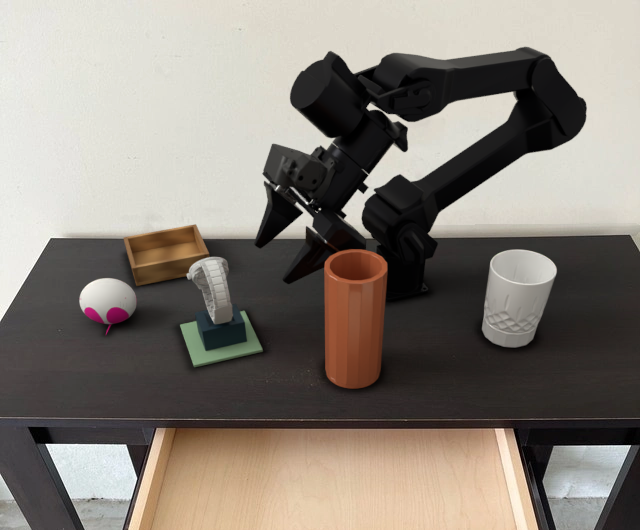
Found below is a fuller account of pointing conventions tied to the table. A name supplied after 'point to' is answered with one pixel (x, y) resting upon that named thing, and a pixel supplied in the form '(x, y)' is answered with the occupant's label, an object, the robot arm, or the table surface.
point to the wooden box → (164, 253)
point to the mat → (219, 354)
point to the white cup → (516, 296)
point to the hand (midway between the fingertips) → (270, 263)
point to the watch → (216, 305)
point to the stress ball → (108, 301)
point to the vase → (354, 317)
